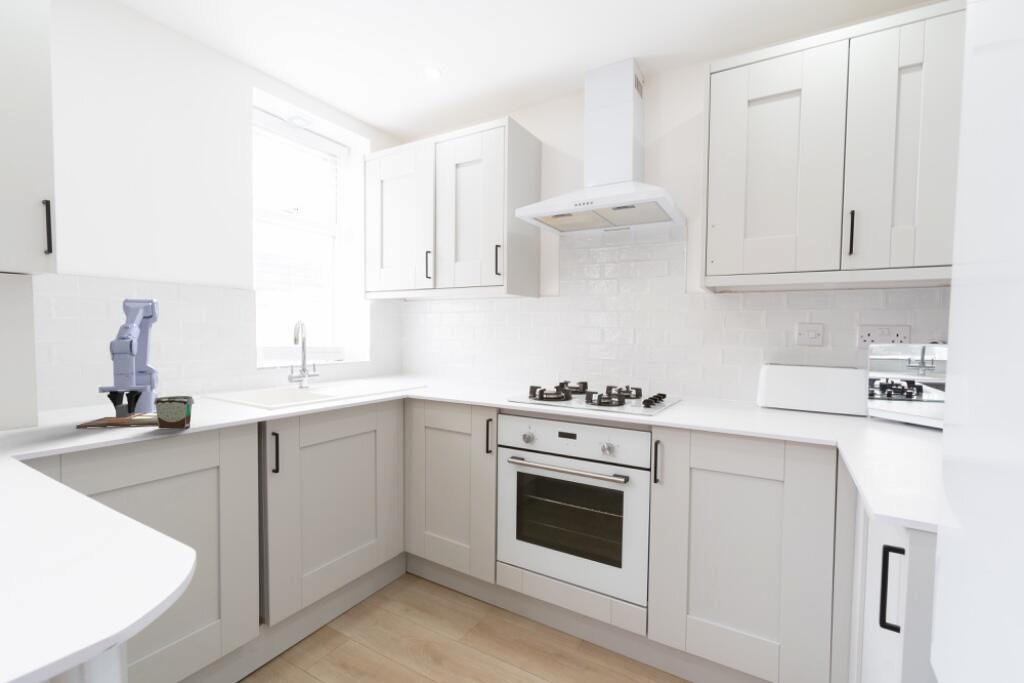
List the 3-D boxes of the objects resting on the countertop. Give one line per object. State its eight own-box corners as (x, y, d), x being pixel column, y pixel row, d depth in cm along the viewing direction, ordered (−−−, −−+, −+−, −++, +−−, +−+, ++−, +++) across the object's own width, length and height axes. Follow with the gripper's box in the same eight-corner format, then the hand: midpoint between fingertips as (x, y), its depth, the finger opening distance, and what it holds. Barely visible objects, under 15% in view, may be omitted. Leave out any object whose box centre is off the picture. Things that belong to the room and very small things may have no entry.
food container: (204, 425, 155) (203, 396, 154) (189, 429, 149) (188, 398, 148) (170, 424, 156) (169, 395, 156) (154, 428, 150) (153, 398, 150)
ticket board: (105, 419, 164) (105, 413, 164) (183, 417, 169) (183, 411, 169) (76, 428, 150) (76, 421, 150) (162, 425, 155) (162, 418, 155)
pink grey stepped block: (125, 417, 163) (125, 402, 163) (143, 416, 164) (143, 402, 164) (106, 422, 154) (106, 407, 153) (125, 422, 155) (125, 406, 154)
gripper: (91, 375, 153) (93, 415, 154) (141, 374, 156) (142, 414, 156) (106, 373, 160) (107, 412, 160) (153, 372, 163) (154, 410, 163)
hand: (125, 413), depth 159 cm, fingers closed on pink grey stepped block, 3 cm apart
